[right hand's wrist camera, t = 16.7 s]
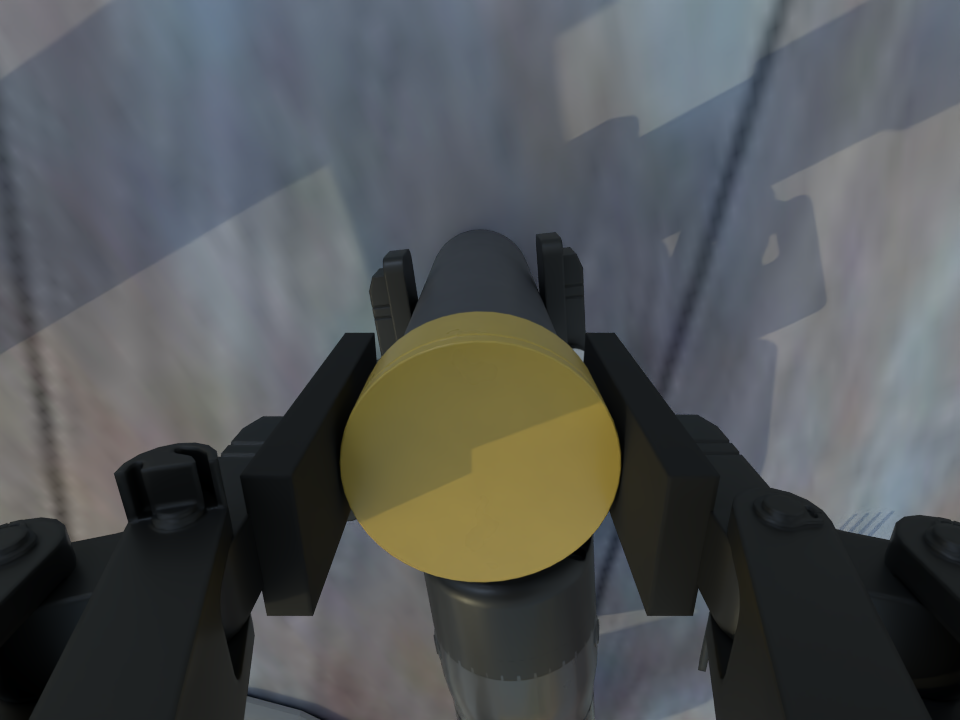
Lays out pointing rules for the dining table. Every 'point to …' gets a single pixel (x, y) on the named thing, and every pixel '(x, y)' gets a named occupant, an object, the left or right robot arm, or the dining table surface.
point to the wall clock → (272, 711)
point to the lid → (480, 449)
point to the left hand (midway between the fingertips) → (472, 247)
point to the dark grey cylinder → (480, 281)
